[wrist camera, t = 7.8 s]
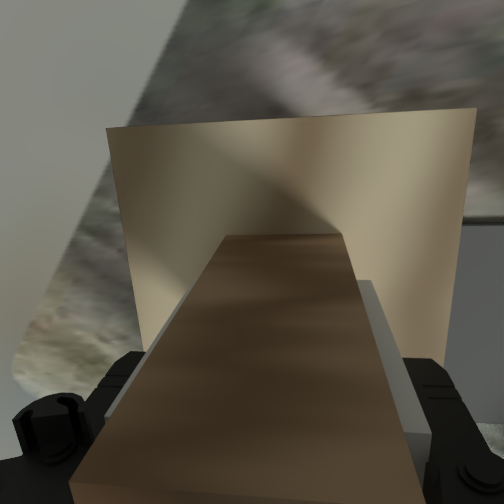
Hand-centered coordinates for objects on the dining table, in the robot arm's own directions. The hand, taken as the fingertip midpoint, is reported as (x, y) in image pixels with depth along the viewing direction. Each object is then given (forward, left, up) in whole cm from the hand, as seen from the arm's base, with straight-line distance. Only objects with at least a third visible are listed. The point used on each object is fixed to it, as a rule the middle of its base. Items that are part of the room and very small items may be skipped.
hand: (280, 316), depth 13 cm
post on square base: (0, 0, -4) cm, 4 cm away
